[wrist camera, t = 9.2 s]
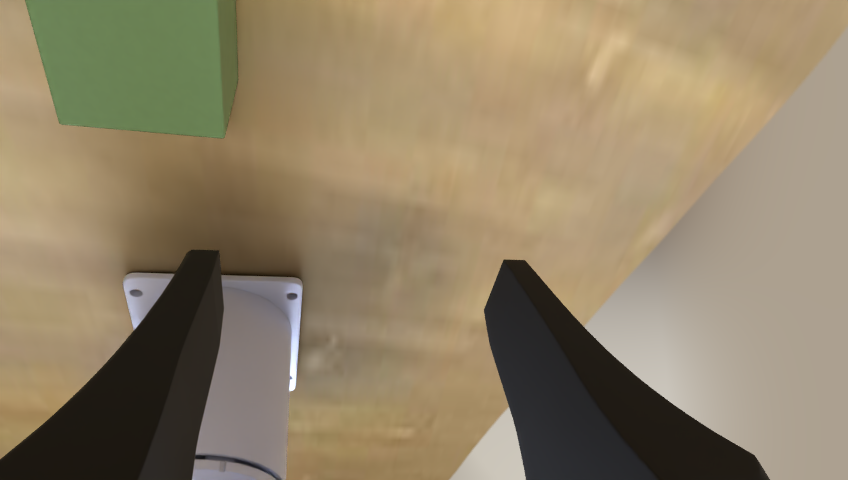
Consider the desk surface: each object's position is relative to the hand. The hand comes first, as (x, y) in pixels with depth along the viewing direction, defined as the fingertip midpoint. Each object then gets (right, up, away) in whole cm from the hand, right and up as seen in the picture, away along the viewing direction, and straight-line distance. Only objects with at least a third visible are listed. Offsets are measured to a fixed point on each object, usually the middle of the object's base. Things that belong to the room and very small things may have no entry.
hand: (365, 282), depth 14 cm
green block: (-7, +9, +4) cm, 12 cm away
